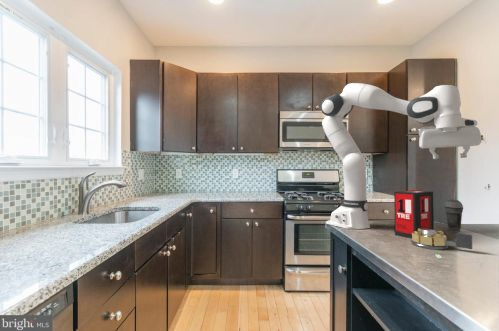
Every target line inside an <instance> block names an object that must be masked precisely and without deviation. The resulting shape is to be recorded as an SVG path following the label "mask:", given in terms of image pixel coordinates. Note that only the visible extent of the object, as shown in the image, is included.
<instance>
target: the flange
mask: <svg viewBox="0 0 499 331" xmlns="http://www.w3.org/2000/svg"><path fill="white" fill-rule="evenodd" d="M436 231H437V230H435V229H434V230H432V229H422V235H424V236H431V237H433V234H436ZM410 242H411V245H413V246H414V247H418V248H421V249H428V250H436V251H445V250H448V249H449V246H448V245H445V246H433V245H432V246H431V245H425V244H420V243H417V242H414V241H413V240H412V239H411V240H410Z"/></svg>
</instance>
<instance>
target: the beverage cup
mask: <svg viewBox="0 0 499 331" xmlns="http://www.w3.org/2000/svg"><path fill="white" fill-rule="evenodd" d="M444 210H445V216H446V221H447V222H446V223H447V229H448V231H449V232H453V233H461V228H462V217H463V213H464V212H463V211H464V205H463V203H462V202H461V201H460V200H458V199H456V190H454V191H453V199H451V198H450V199H449V200H447V201H446V202H445V204H444Z"/></svg>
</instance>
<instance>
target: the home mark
mask: <svg viewBox="0 0 499 331" xmlns="http://www.w3.org/2000/svg"><path fill="white" fill-rule="evenodd" d="M435 257H436V258H437V259H440V260H443V257H442V256H441V254H435Z"/></svg>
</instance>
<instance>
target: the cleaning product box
mask: <svg viewBox="0 0 499 331" xmlns="http://www.w3.org/2000/svg"><path fill="white" fill-rule="evenodd" d="M393 194H394V196H393V197H394V202H393V203H394V235H395V236H397V237H403V238H407V239H411V240H412V233H413V232H414V231H418V228H422V229H432V230H435V227H434V226H435V222H434V221H435V219H434V215H435V214H434V191H431V190H430V191H427V190H414V189H413V190H411V189H410V190H402V191H394V192H393Z"/></svg>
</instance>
